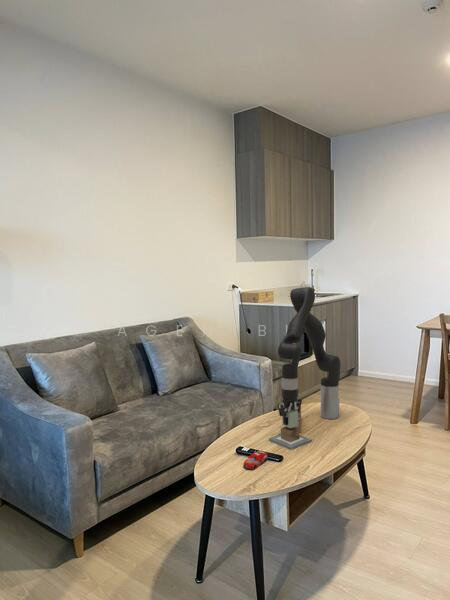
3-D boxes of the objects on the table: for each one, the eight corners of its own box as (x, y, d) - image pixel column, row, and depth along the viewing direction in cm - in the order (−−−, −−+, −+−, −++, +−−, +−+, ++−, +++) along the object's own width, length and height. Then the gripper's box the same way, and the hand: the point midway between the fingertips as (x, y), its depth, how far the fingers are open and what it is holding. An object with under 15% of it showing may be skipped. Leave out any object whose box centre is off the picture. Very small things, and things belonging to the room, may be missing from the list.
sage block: (289, 422, 204) (289, 407, 204) (297, 425, 200) (297, 410, 200) (282, 425, 201) (282, 410, 200) (290, 428, 197) (290, 413, 196)
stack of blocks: (287, 417, 232) (287, 395, 231) (299, 418, 231) (299, 395, 230) (287, 433, 211) (287, 408, 210) (301, 433, 210) (300, 408, 209)
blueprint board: (289, 432, 211) (289, 420, 210) (312, 441, 200) (311, 428, 199) (268, 440, 202) (268, 427, 202) (290, 449, 191) (290, 436, 191)
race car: (251, 472, 172) (251, 462, 171) (240, 468, 175) (240, 458, 175) (270, 460, 182) (269, 450, 182) (259, 456, 185) (259, 447, 185)
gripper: (294, 382, 207) (294, 417, 208) (272, 388, 198) (273, 424, 199) (306, 385, 201) (306, 421, 202) (284, 391, 192) (285, 429, 193)
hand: (290, 423), depth 200 cm, fingers closed on sage block, 5 cm apart
